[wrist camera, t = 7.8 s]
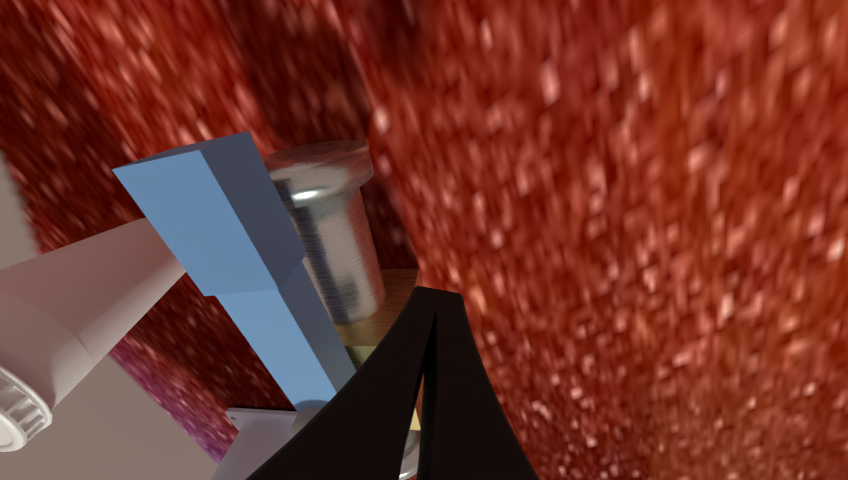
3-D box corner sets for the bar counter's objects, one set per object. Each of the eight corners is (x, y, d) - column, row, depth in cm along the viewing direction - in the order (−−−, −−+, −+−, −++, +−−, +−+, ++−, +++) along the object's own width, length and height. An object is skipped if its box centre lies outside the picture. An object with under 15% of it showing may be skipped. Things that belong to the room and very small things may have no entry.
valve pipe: (444, 409, 23) (437, 494, 19) (367, 405, 24) (343, 484, 20) (395, 133, 13) (356, 177, 9) (268, 147, 14) (177, 192, 10)
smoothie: (86, 222, 18) (-610, 543, 7) (146, 174, 16) (-759, 535, 4) (175, 299, 21) (-211, 629, 9) (238, 268, 19) (-170, 654, 7)
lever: (389, 412, 15) (378, 462, 13) (328, 412, 16) (309, 459, 14) (257, 129, 8) (199, 151, 7) (164, 150, 9) (89, 175, 7)
